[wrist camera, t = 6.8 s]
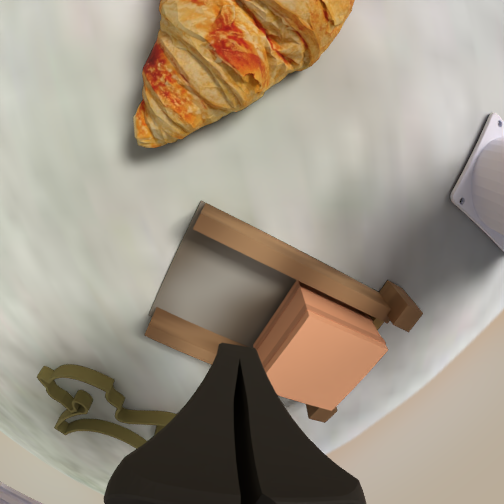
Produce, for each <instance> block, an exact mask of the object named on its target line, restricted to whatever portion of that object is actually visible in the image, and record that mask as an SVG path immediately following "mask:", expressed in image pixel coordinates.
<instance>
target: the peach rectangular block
mask: <svg viewBox="0 0 504 504" xmlns="http://www.w3.org/2000/svg"><path fill="white" fill-rule="evenodd" d="M385 344H386V343H385V341H384V339H383V338H381V336H380V334H379V333H378V331H377V329H376V327H375V326H374V324H373V320H372V318H371V317H370V316H369V315H368V314H367V313H364V312H362V311H360V310H358V309H356V308H354V307H352V306H350V305H348V304H346V303H344V302H342V301H340V300H337V299H335V298H333V297H331V296H329V295H327V294H325V293H323V292H321V291H319V290H317V289H315V288H313V287H311V286H308V285H306V284H304V283H302V282H300V281H298V280H296V282H295V283H294V285H293V286H292V288H291V289H290V291H289V292H288V294H287V295H286V297H285V298H284V300H283V301H282V303H281V304H280V306H279V307H278V309H277V310H276V312H275V313H274V315H273V316H272V318H271V319H270V321H269V322H268V324H267V325H266V327H265V328H264V330H263V331H262V332H261V334H260V335H259V337H258V338H257V340H256V341H255V343H254V344H253V348H255V349H256V350H257V352H258V355H259V358H260V360H261V363H262V365H263V368H264V370H265V372H266V374H267V376H268V378H269V380H270V382H271V384H272V386H273V388H274V390H275V392H276V394H277V395H279V396H282V397H285V398H288V399H292V400H295V401H298V402H302V403H305V404H309V405H312V406H316V407H319V408H323V409H327V410H330V411H332V410H333V409H334V408H335V407H336V406H337V405H338V404H339V403H340V402H341V401H342V400H343V399H344V398H345V397H346V396H347V395H348V394H349V393H350V392H351V391H352V390H353V389H354V388H355V386H356V385H357V384H358V383H359V382H360V381H361V380H362V379H363V378H364V377H365V376H366V375H367V374H368V372H369V371H370V370H371V369H372V368H373V367H374V366H375V365H376V363H377V362H378V361H379V360H380V359H381V358H382V357H383V355H384V354H385V353H386V352H387V351H388V349H387V347H386V345H385Z"/></svg>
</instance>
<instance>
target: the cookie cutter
mask: <svg viewBox="0 0 504 504" xmlns="http://www.w3.org/2000/svg"><path fill="white" fill-rule="evenodd" d="M37 378H38V380H39V381H40V382H41V383H42V384H43V386H44V387H45V388H46V391H47V393H48V395H49V396H50V397H52V398H53V399H54V400H56V401H58V402H59V403H61V404H62V405H63V406H64V407H65V408H66V410H65V411H64V412H63V413H62V415H61V416H60V417H59V419H58V421H57V423H56V425H55V427H54V428H55V429H56V430H58V431H60V432H61V433H63V434H64V435H67V434H69V433H71V432H75V431H92V432H98V433H102V434H106V435H109V436H112V437H114V438H117V439H119V440H121V441H124V442H126V443H128V444H129V445H131V446H133V447H135V448H136V449H137V448H139V447H140V446H142V445H143V444H144V443H146V442H147V441H146V440H145V439H144V438H142V437H141V436H139V435H138V434H136V433H134V432H132V431H131V430H129V429H127V428H124V427H122V426H120V425H117V424H114V423H111V422H108V421H104V420H99V419H79V420H75V421H73V422H71V423H67V422H66V421H64V420H66V419H67V418H70V417H72V416H75V415H81V414H87V413H88V410H89V408H90V406H91V404H92V402H93V398H92V396H91V395H90V394H89V393H87V392H86V391H83V390H78V391H77V393H76V395H75V397H72V396H71V395H70V394H69V393H68V392H67V391H65V390H63V389H62V388H60V387H59V386H58V385H57V384H56V383H55V381H54V379H57V378H71V379H76V380H79V381H82V382H85V383H87V384H90V385H92V386H95V387H97V388H99V389H101V390H103V391H105V392H106V394H105V398H106V400H107V401H108V402H109V403H110V404H111V405H113V406H114V407H116V408H117V410H116V413H115V418H116V419H117V420H118V421H120V422H122V423H127V424H143V425H157V426H156V430H155V435H156V434H157V433H158V432H159V431H160V430H161V429H163V428H164V427H165V426H166V425H167V424H168V423H169V422H170V421H171V420H172V419H173V418H174V417H175V416H176V415H177V414H174V413H170V412H164V411H146V410H128V409H125V408H123V407H122V405H123V402H124V400H125V397H124V396H123V395H122V394H121V393H119V392H118V391H116V390H115V389H114V387H113V383H114V379H112V378H110V377H108V376H106V375H104V374H102V373H100V372H97V371H95V370H92V369H89V368H86V367H83V366H79V365H72V364H68V365H62V366H60V367H58V368H57V369H55V371H54V370H52V369H50V368H49V367H47V366H44V367H43V368H42V369H41V371H40V372H39V374H38V375H37Z"/></svg>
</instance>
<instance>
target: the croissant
mask: <svg viewBox="0 0 504 504" xmlns="http://www.w3.org/2000/svg"><path fill="white" fill-rule="evenodd" d="M353 3H354V0H161V1H160V6H159V11H160V13H161V21H160V30H159V32H158V38H157V40H156V43H155V45H154V47H153V49H152V51H151V53H150V55H149V57H148V59H147V61H146V63H145V65H144V67H143V72H142V75H143V81H144V86H143V90H142V96H143V100H142V102H141V103H140V105H139V107H138V109H137V112H136V114H135V115H134V117H133V121H134V131H135V138H136V140H137V143H138V145H140V146H143V147H146V148H156V147H159V146H163V145H165V144H167V143H173V142H176V141H177V140H178V139H183V138H185V137H186V136H187V135H189V134H190V133H192V132H194V131H196V130H197V129H199V128H201V127H203V126H205V125H208V124H211V123H213V122H216V121H218V120H219V119H220V118H221V117H223V116H227V115H228V114H229V113H231V112H237V111H240V110H243V109H244V108H246V107H247V106H249V105H250V104H252V103H253V102H255V101H257V100H258V99H259V98H261V97H262V96H263V94H264V92H265V91H266V90H268V89H269V88H270V87H271V86H273V85H274V84H277V83H278V82H280V81H281V80H282V79H284V78H285V77H286V75H287V74H288V73H292V72H294V71H302V70H304V69H306V68H308V67H310V66H312V65H313V64H314V63H315V62H316V61H317V60H318V59H319V57H320V56H321V54H322V53H323V52H324V51H325V50H326V49H327V48H328V47H329V45H330V44H331V42H332V41H333V40H334V38H335V37H336V36H337V34H338V33H339V31H340V30H341V28H342V26H343V24H344V22H345V20H346V19H347V17H348V16H349V14H350V13H351V11H352V6H353Z"/></svg>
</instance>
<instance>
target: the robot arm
mask: <svg viewBox="0 0 504 504" xmlns="http://www.w3.org/2000/svg"><path fill="white" fill-rule="evenodd" d="M498 122H499V126H498ZM450 198H451V201H452V202H453V203H454V204H455V205H456V206H457V207H458V208H459V209H461V210H462V211H463V212H464V213H465V214H466V215H467V216H468V217H469V218H470V219H471V220H472V221H473V222H474V223H475V224H477V225H478V226H479V227H480V228H481V229H482V230H483V231H484V232H485V233H486V234H487V235H488V236H489V237H490V238H491V239H492V240H493V241H494V242H495V243H496V244H497V245H498V246H499V248H500V249H501V250H502V251H503V252H504V121H503V120H502V119H501V117H500V116H499V115H498V114H497V113H491V114H490V115H489V118H488V120H487V122H486V124H485V127H484V129H483V131H482V133H481V135H480V138H479V140H478V142H477V144H476V146H475V148H474V150H473V152H472V154H471V156H470V158H469V160H468V162H467V164H466V166H465V168H464V170H463V172H462V174H461V176H460V178H459V180H458V181H457V183H456V185H455V187H454V189H453V191H452V192H451V195H450ZM461 198H462V201H461V203H460V199H461ZM104 503H105V504H366V501H365V496H364V493H363V490H362V487H361V485H360V482H359V480H358V479H356V478H355V477H353V476H352V475H350V474H349V473H347V472H346V471H345V470H344V469H342V468H340V467H339V466H338V465H337V464H335V463H334V462H333V461H332V460H331V459H330V458H328V457H327V456H326V455H325V454H324V453H323V452H322V451H321V450H320V449H319V448H318V447H317V446H316V445H315V444H314V443H313V442H312V441H311V440H310V439H309V438H308V437H307V436H306V435H305V434H304V432H303V431H302V430H301V429H300V428H299V426H298V425H297V424H296V423H295V421H294V420H293V419H292V417H291V416H290V414H289V413H288V411H287V410H286V408H285V407H284V405H283V404H282V402H281V400H280V399H279V397H278V395H277V394H276V392H275V390H274V388H273V386H272V384H271V382H270V380H269V378H268V376H267V374H266V372H265V370H264V368H263V365H262V363H261V360H260V358H259V355H258V352H257V350H256V349H255V348H252V347H245V346H240V345H234V344H228V343H223V342H222V343H220V344H219V346H218V351H217V354H216V357H215V359H214V361H213V364H212V366H211V368H210V369H209V371H208V373H207V375H206V376H205V378H204V380H203V381H202V383H201V384H200V386H199V387H198V389H197V390H196V392H195V393H194V394H193V396H192V397H191V398H190V400H189V401H188V402H187V403H186V405H185V406H184V407H183V408H182V409H181V410H180V412H179V413H178V414H177V415H176V416H175V417H174V418H173V419H172V420H171V421H170V422H169V423H168V424H167V425H166V426H165V427H164V428H163V429H161V430H160V431H159V432H158V433H157V434H156V435H154V436H153V437H152V438H151V439H150V440H148V441H147V442H146V443H144V444H143V445H142V446H140V447H139V448H137V449H136V450H134V451H133V452H132V453H130V454H129V455H127V456H126V457H124V459H123V460H122V461H121V463H120V464H119V465H118V467H117V468H116V470H115V471H114V473H113V475H112V476H111V478H110V480H109V482H108V485H107V488H106V492H105V495H104ZM0 504H42V503H40V502H38V501H36V500H34V499H32V498H30V497H28V496H26V495H24V494H22V493H20V492H18V491H16V490H14V489H13V488H11V487H9V486H7V485H5V484H4V483H2V482H0Z"/></svg>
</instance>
